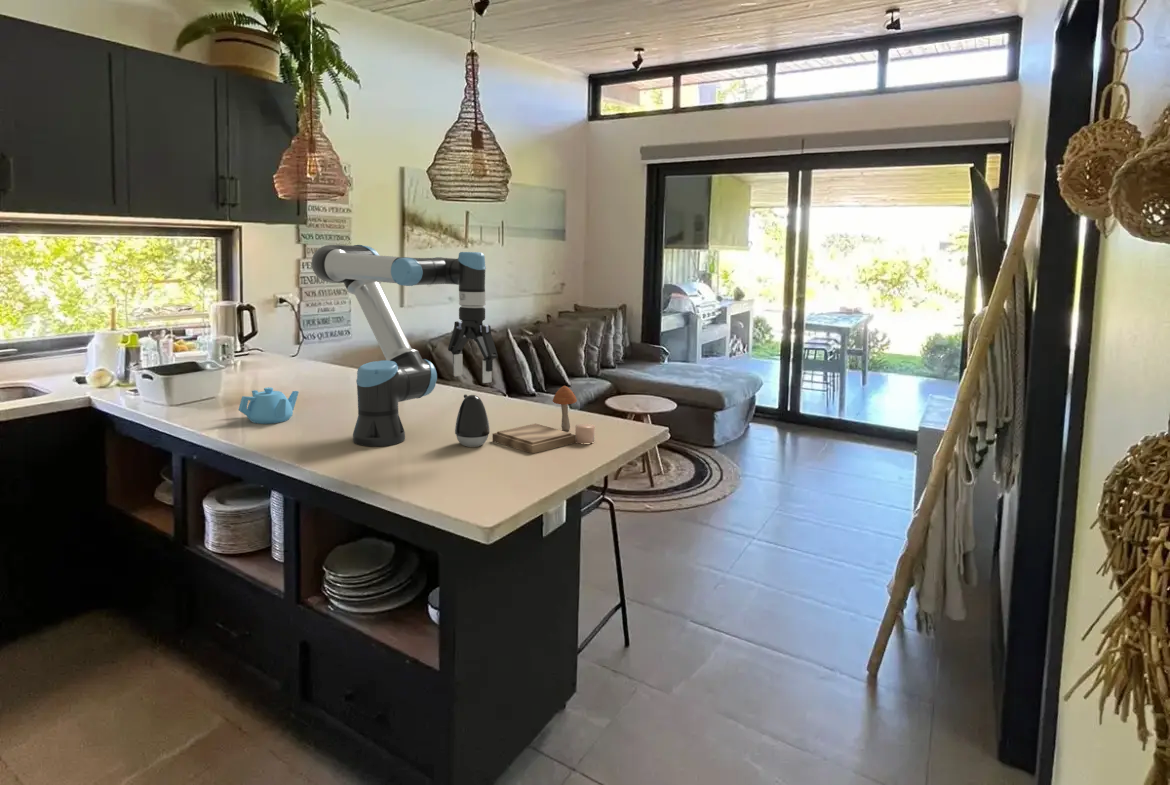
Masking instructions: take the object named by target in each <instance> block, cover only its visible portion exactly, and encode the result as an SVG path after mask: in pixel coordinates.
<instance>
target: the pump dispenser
mask: <svg viewBox="0 0 1170 785" xmlns="http://www.w3.org/2000/svg"><path fill="white" fill-rule="evenodd" d="M463 398H464V399H462V402H461V404H460V407H459V409H458V412H457V416H456V419H455V425H454V426H455V428H454V434H455V436H456V439H457V441H458V442H459V443H460V445H462V446H465V447H468V448H477V447H480V446H482V445H483V444H485V443H486V441H488V437H489V434H490V432H491V431H490V423H489V416H488V415H487V410H486V407H485V405H484V402H483V401H482V399H481V398H480V397H479V396H478V395H477V394H476V395H475V394H469V395H468V394H464V395H463Z"/></svg>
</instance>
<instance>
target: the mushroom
mask: <svg viewBox="0 0 1170 785" xmlns="http://www.w3.org/2000/svg"><path fill="white" fill-rule="evenodd" d="M577 402H578V400H577V396H576V395H575V394H574V392H573V390H572V389H571V388H569V387H568V386H566V385H563V386H561V387H560V388H559V389H558V390H557V391H556V392H555V393H554V396H553V398H552V403H554V404H557V405H560V406H561V408H560V409H561V425H560V426H561V431H562V430H563V431H565V432H568V431H570V428H571V423H570V418H569V411H568V410H569V405H573V404H575V403H577Z"/></svg>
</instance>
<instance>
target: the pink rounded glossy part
mask: <svg viewBox="0 0 1170 785" xmlns="http://www.w3.org/2000/svg"><path fill="white" fill-rule="evenodd" d="M574 428H575V430H574V431H575V433H574V435H576V442H577V443H576V444H578V443H592V442H594V441H595V440H596V438H595V435H596V426H595V425H594V424H591V423H578V424H576V425H575V427H574ZM594 443H595V442H594Z"/></svg>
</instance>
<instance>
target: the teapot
mask: <svg viewBox="0 0 1170 785" xmlns="http://www.w3.org/2000/svg"><path fill="white" fill-rule="evenodd" d="M299 393H300V392H299V390H292V392H291V393H290V395H289V396H288V397H287V396H286V395H285V393H283V392H282V391H280V390H274V387H272V386H271V387H270V386H269V387H264V388H263V391H258V390H257V389H253V390H251V394H252V396H246V395H242V396H241V400H240V402H239V407H238V411H239V412H241V413H242V414H244V415H245V416H246V417H247V419H248V420H249V421H250V422H252V423H254V424H261V425H270V424H271V425H272V424H278V423H279V424H280V423H284V422H287V421H288V420H290V418H291V417H292V416H293V414H294V410H295V406H296V402H297V399H298V396H299Z"/></svg>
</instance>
